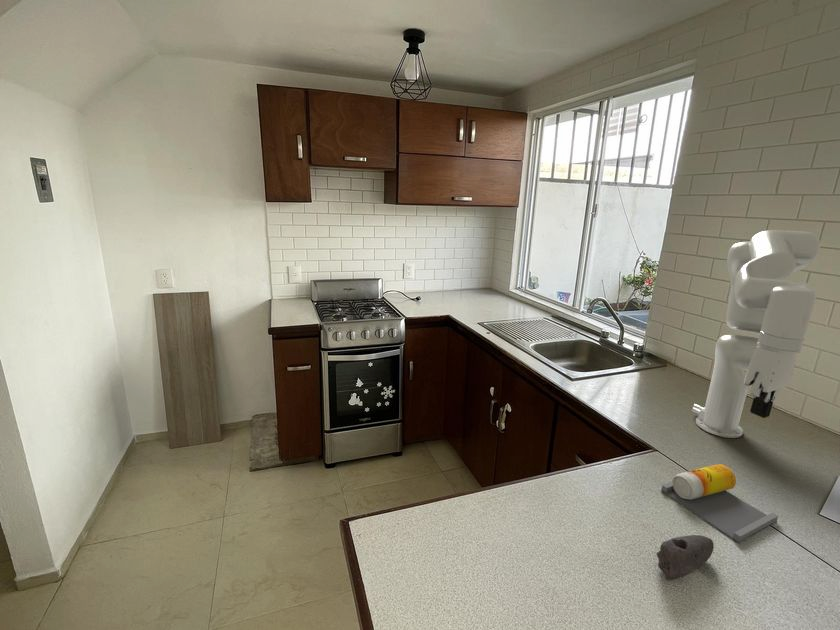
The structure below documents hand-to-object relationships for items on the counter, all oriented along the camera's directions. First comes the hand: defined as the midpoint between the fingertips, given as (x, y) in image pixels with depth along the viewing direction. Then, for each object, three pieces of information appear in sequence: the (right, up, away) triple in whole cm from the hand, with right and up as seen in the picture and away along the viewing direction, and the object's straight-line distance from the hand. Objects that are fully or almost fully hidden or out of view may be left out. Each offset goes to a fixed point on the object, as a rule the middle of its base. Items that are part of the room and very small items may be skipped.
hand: (759, 414), depth 99 cm
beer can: (-1, -18, +9) cm, 20 cm away
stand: (-8, -23, +3) cm, 24 cm away
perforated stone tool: (-27, -28, -14) cm, 41 cm away
